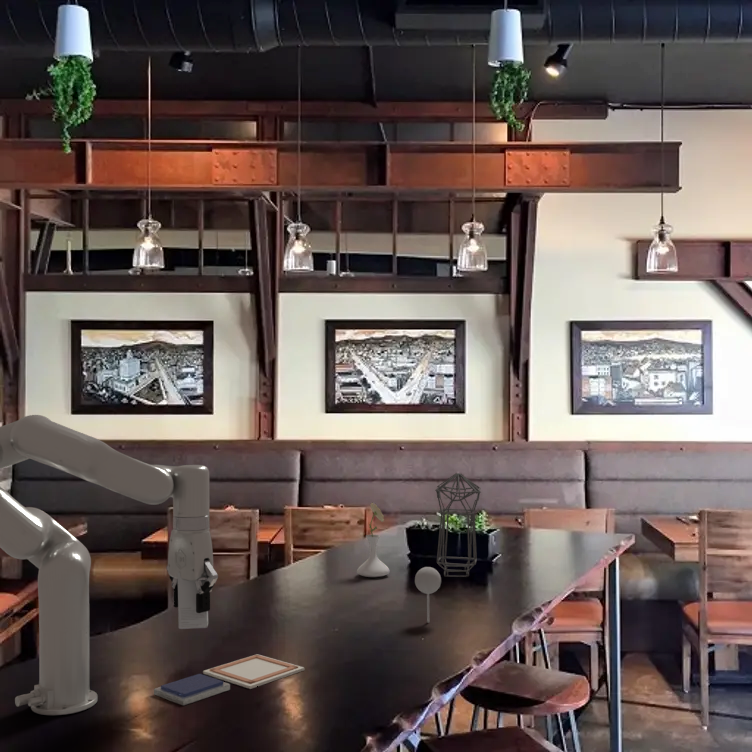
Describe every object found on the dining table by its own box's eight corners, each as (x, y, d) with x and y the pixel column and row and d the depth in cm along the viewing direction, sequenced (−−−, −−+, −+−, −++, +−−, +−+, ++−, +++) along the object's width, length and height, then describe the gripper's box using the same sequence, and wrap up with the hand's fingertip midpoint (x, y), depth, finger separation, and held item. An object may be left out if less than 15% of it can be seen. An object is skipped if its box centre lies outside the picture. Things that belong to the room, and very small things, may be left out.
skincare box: (208, 623, 183) (208, 566, 183) (207, 629, 178) (207, 570, 179) (178, 624, 182) (179, 567, 182) (177, 630, 177) (177, 571, 178)
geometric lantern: (435, 569, 304) (437, 471, 305) (480, 571, 302) (481, 472, 303) (432, 578, 289) (434, 474, 290) (479, 580, 286) (480, 475, 288)
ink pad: (183, 705, 172) (183, 696, 172) (154, 694, 178) (153, 685, 178) (230, 689, 181) (230, 681, 181) (200, 679, 187) (200, 671, 187)
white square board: (250, 689, 181) (250, 684, 181) (203, 673, 191) (203, 669, 191) (304, 670, 193) (304, 666, 193) (257, 656, 203) (257, 652, 203)
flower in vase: (389, 579, 288) (389, 505, 289) (356, 579, 288) (355, 505, 289) (389, 571, 301) (389, 500, 302) (357, 571, 301) (356, 500, 302)
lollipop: (446, 622, 233) (446, 566, 233) (430, 627, 228) (429, 570, 228) (426, 617, 238) (426, 563, 238) (409, 622, 233) (409, 567, 233)
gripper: (152, 522, 183) (152, 606, 183) (203, 530, 172) (203, 619, 171) (180, 518, 189) (180, 599, 188) (232, 525, 178) (232, 611, 177)
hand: (191, 608), depth 180 cm, fingers closed on skincare box, 6 cm apart
